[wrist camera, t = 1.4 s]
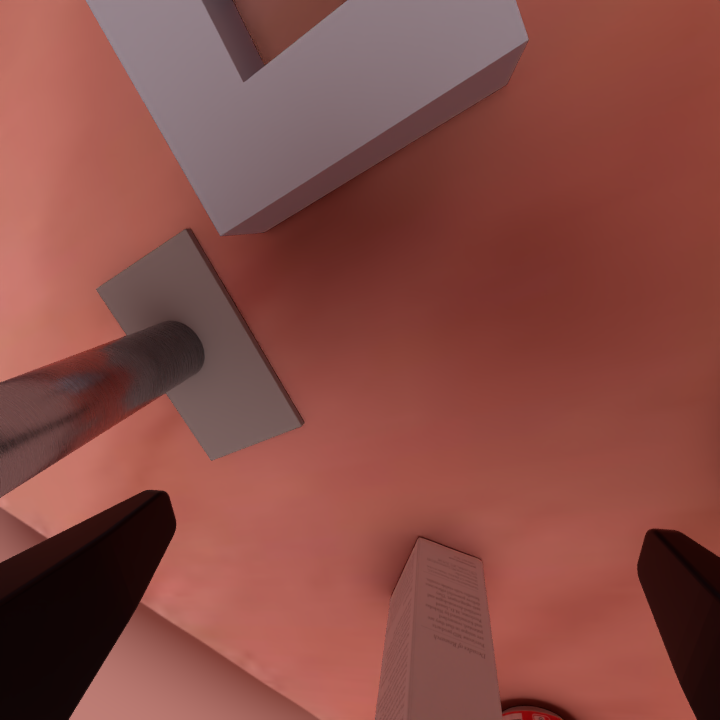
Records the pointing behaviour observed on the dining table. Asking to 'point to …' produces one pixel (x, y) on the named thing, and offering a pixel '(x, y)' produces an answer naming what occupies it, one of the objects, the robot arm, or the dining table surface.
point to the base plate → (205, 347)
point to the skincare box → (439, 641)
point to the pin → (88, 396)
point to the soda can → (529, 714)
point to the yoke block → (304, 91)
